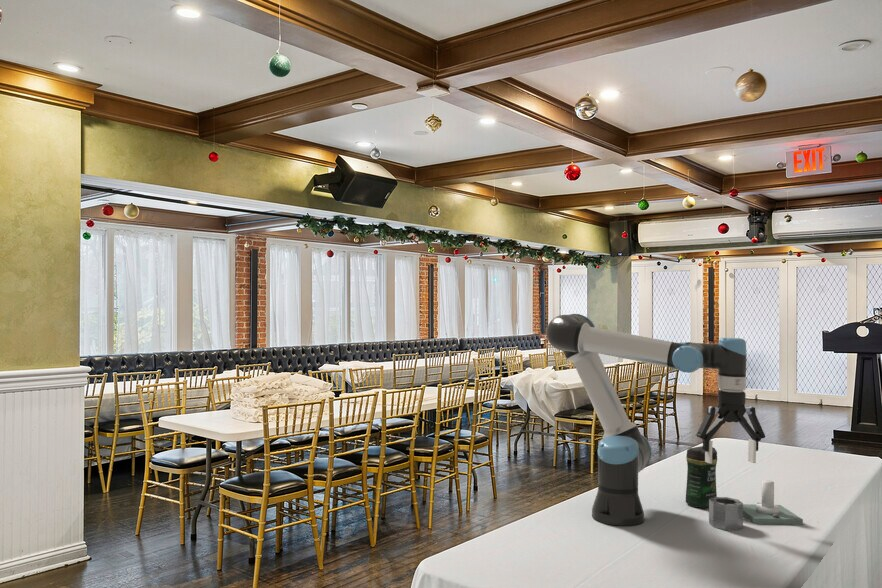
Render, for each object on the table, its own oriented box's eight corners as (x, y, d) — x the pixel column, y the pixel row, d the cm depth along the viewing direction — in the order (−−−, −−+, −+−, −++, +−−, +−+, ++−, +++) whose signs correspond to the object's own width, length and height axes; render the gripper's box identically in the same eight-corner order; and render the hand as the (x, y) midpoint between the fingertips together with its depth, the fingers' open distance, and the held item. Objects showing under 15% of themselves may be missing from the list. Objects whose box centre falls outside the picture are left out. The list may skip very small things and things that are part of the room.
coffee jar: (703, 510, 211) (703, 450, 211) (681, 504, 218) (681, 446, 218) (721, 505, 217) (721, 447, 217) (699, 499, 223) (699, 442, 223)
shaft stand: (754, 523, 199) (754, 487, 199) (735, 508, 213) (735, 475, 213) (802, 524, 198) (802, 488, 198) (780, 509, 212) (780, 476, 212)
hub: (716, 529, 193) (716, 505, 193) (705, 520, 201) (706, 496, 202) (746, 530, 193) (746, 505, 193) (734, 520, 201) (734, 497, 201)
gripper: (698, 391, 195) (696, 465, 195) (778, 392, 198) (777, 465, 198) (685, 388, 202) (684, 459, 202) (763, 388, 205) (762, 458, 205)
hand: (730, 462), depth 200 cm, fingers open, 13 cm apart
